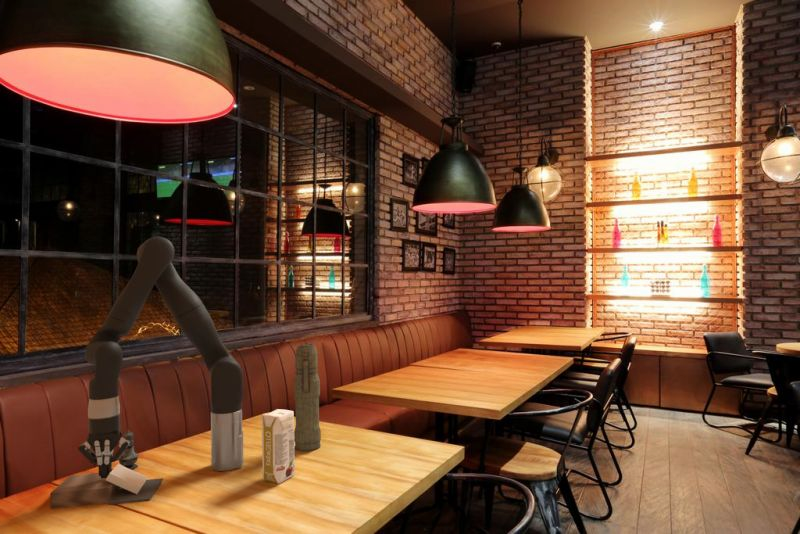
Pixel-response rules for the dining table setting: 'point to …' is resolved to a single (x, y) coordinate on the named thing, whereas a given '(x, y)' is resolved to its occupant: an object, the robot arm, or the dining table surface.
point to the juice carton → (278, 445)
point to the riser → (82, 491)
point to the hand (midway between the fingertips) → (105, 477)
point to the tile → (127, 478)
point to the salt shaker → (129, 453)
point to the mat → (142, 495)
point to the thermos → (307, 399)
